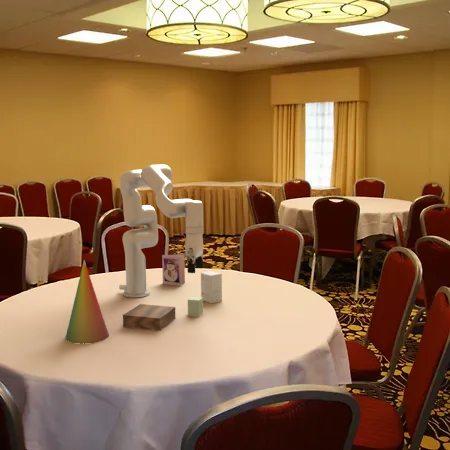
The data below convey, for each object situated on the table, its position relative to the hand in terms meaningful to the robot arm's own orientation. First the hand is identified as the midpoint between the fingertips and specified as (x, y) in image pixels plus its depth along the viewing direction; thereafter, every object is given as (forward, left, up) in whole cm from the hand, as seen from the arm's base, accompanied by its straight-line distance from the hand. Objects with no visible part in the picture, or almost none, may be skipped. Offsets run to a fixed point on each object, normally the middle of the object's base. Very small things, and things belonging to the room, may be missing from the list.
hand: (195, 270), depth 245 cm
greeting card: (-28, +47, -19) cm, 58 cm away
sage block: (0, 0, -19) cm, 19 cm away
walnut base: (-14, -16, -19) cm, 29 cm away
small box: (0, +22, -20) cm, 29 cm away
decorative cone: (-30, -38, -20) cm, 52 cm away
